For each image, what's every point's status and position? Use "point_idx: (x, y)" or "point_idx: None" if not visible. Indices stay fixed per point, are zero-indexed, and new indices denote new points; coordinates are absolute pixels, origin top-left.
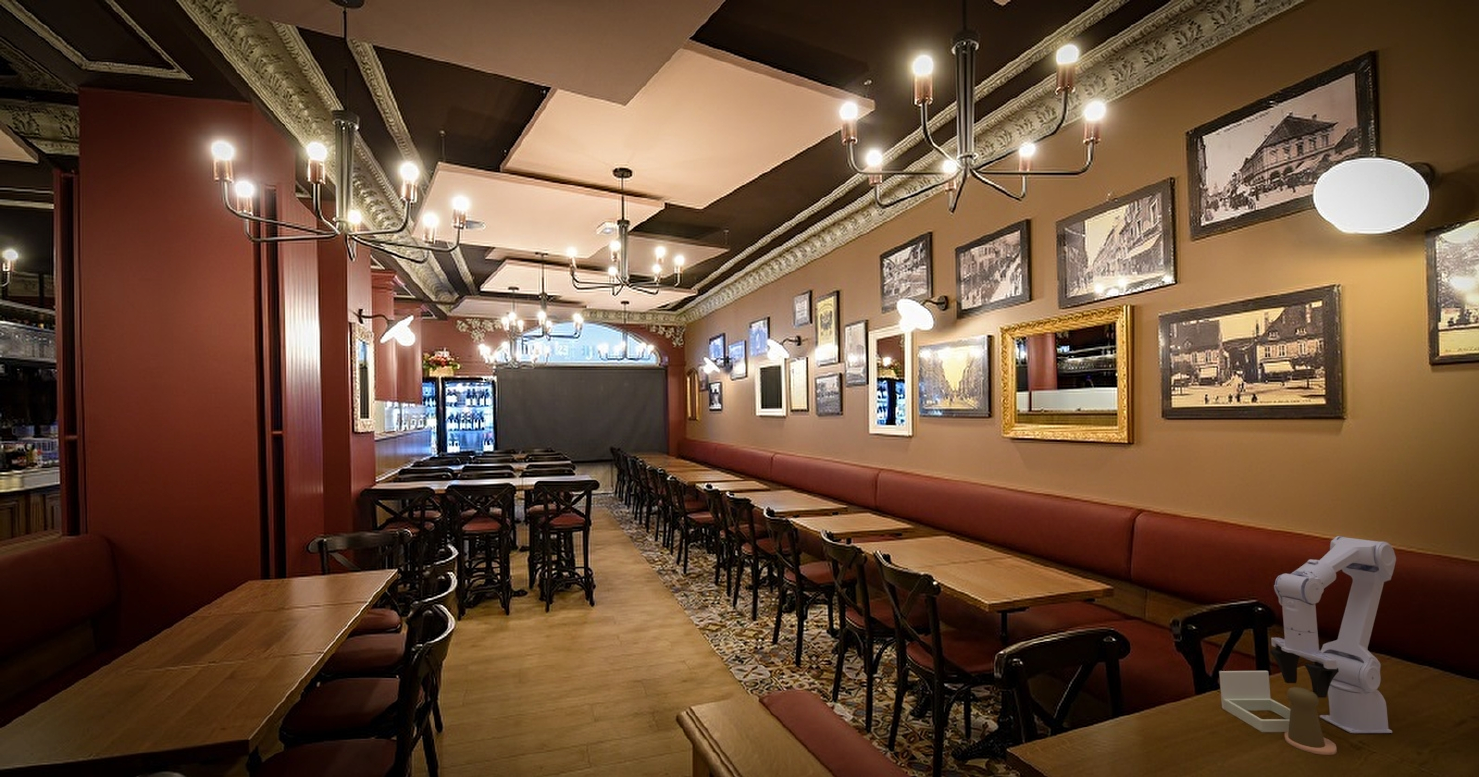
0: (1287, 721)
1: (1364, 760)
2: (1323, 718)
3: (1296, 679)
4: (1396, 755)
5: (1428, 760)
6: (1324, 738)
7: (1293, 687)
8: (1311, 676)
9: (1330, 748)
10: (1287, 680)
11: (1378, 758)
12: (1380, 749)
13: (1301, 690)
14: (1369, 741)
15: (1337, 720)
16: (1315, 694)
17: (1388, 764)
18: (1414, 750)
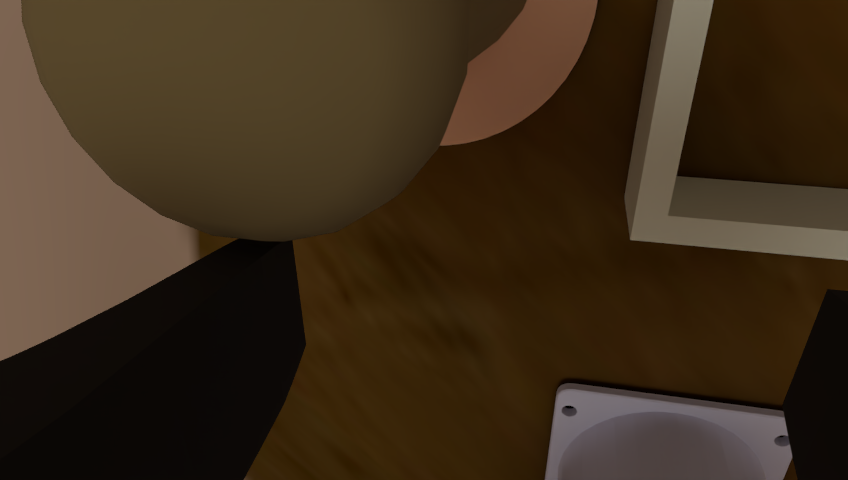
0: (670, 11)
1: None
2: (764, 411)
3: (795, 459)
4: (315, 360)
5: (280, 435)
6: (452, 132)
7: (340, 20)
8: (5, 420)
9: None
10: (844, 326)
11: None
12: (376, 351)
13: (123, 9)
14: (466, 383)
15: (666, 428)
16: (112, 175)
17: (210, 237)
18: (372, 470)
